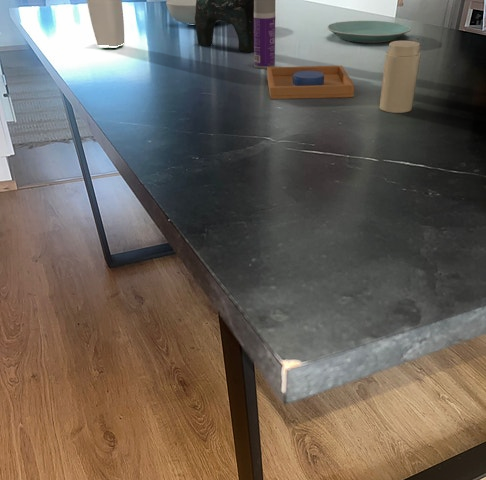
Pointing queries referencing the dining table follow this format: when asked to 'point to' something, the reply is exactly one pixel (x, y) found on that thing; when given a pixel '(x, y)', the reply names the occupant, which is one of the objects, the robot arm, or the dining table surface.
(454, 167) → the dining table surface
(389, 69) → the jar
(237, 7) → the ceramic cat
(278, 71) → the tray
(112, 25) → the cup
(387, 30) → the plate
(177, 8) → the serving bowl
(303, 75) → the lid
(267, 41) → the container
